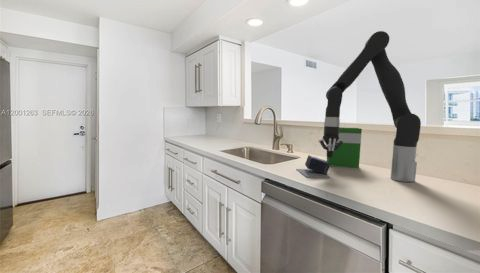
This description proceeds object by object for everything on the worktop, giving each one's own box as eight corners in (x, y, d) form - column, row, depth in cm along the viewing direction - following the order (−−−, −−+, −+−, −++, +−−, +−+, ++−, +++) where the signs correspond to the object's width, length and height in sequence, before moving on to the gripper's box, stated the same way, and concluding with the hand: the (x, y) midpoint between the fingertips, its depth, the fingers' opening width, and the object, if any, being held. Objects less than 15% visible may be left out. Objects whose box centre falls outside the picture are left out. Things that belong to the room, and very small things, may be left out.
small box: (331, 163, 116) (311, 157, 117) (327, 175, 117) (307, 169, 118) (326, 160, 127) (308, 154, 128) (322, 170, 127) (304, 165, 128)
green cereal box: (355, 165, 143) (358, 127, 141) (358, 167, 136) (361, 128, 133) (326, 163, 147) (328, 127, 145) (328, 165, 140) (330, 127, 138)
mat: (316, 169, 129) (316, 169, 129) (329, 177, 113) (329, 176, 113) (296, 169, 128) (296, 169, 128) (306, 177, 112) (306, 176, 112)
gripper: (322, 125, 115) (320, 158, 116) (347, 126, 116) (344, 159, 117) (316, 124, 122) (314, 156, 124) (340, 125, 123) (337, 156, 125)
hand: (329, 157), depth 121 cm, fingers closed
